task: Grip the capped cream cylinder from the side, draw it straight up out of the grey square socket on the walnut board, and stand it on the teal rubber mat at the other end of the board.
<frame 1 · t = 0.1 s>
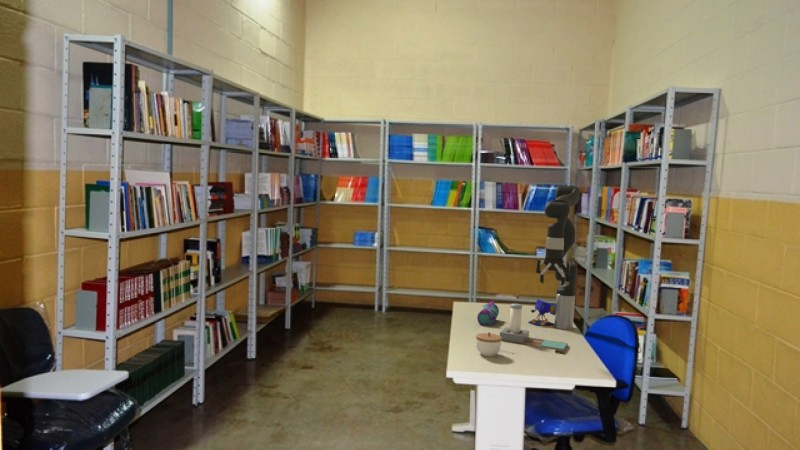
hand: (552, 284, 250), 29 cm above the table, tool pointing down, fingers open, 8 cm apart
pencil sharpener: (545, 325, 299), on the table, touching arm
pencil case: (488, 323, 296), on the table
base board: (531, 344, 260), on the table
capped cream cylinder: (514, 338, 263), point 1 cm above the table, touching base board
lidded jar: (487, 354, 241), on the table
grey square socket: (514, 341, 263), resting on base board
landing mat: (553, 347, 256), resting on base board
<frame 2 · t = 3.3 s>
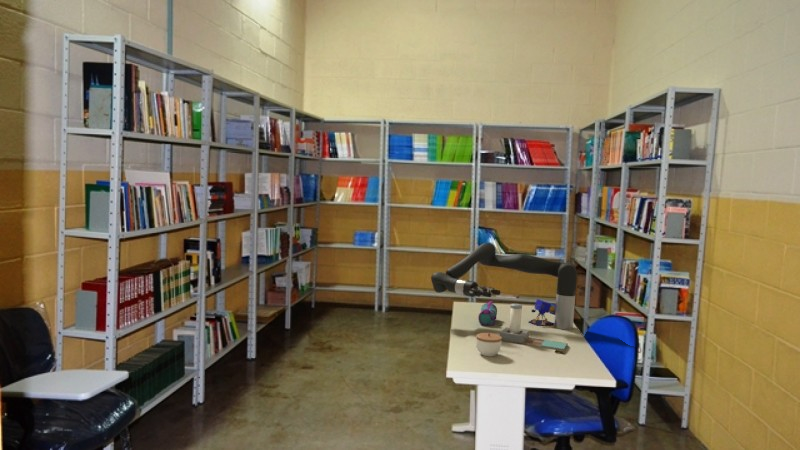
hand: (495, 293, 268), 20 cm above the table, tool horizontal, fingers open, 8 cm apart
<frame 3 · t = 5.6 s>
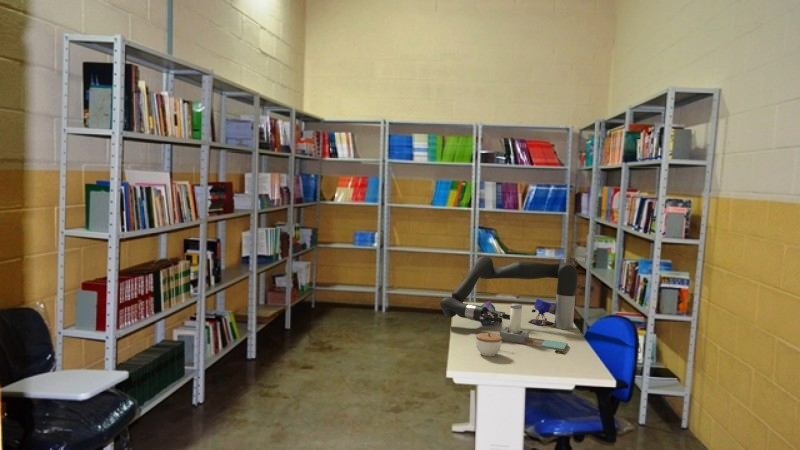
hand: (506, 319, 264), 10 cm above the table, tool horizontal, fingers open, 8 cm apart
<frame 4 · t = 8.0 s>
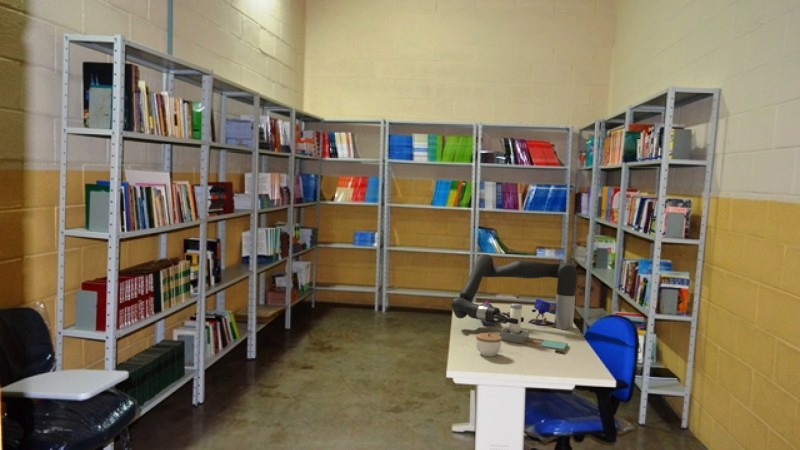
hand: (520, 320, 261), 10 cm above the table, tool horizontal, fingers closed on capped cream cylinder, 5 cm apart
capped cream cylinder: (514, 338, 263), point 1 cm above the table, touching base board, gripper
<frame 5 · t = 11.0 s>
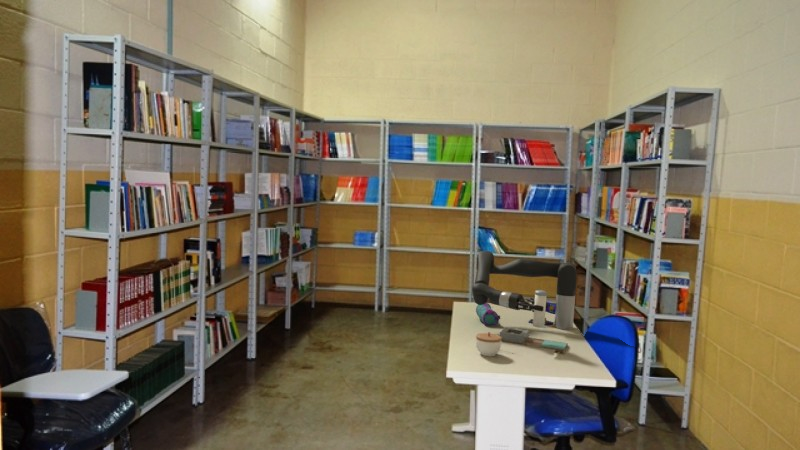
hand: (545, 307, 256), 18 cm above the table, tool horizontal, fingers closed on capped cream cylinder, 5 cm apart
capped cream cylinder: (538, 325, 258), point 9 cm above the table, touching gripper
when the fingers open (12 cm above the table, at t = 14.1 s): capped cream cylinder drops 1 cm, resting on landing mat.
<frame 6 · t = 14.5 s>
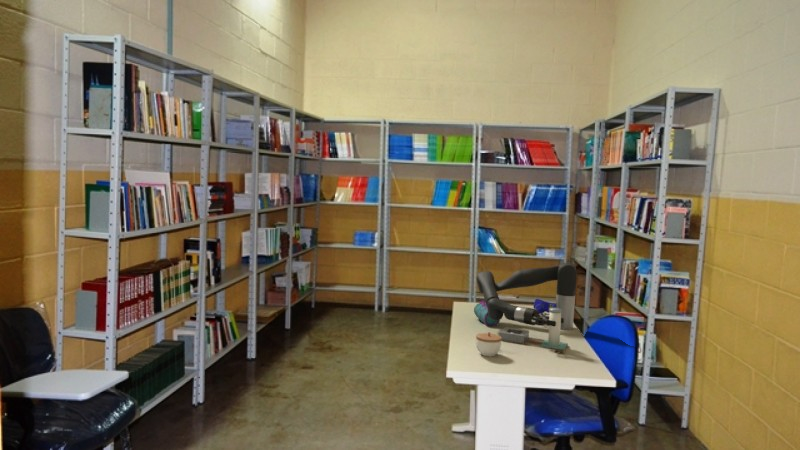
hand: (559, 322, 253), 12 cm above the table, tool horizontal, fingers open, 8 cm apart
capped cream cylinder: (553, 344, 255), point 2 cm above the table, touching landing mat
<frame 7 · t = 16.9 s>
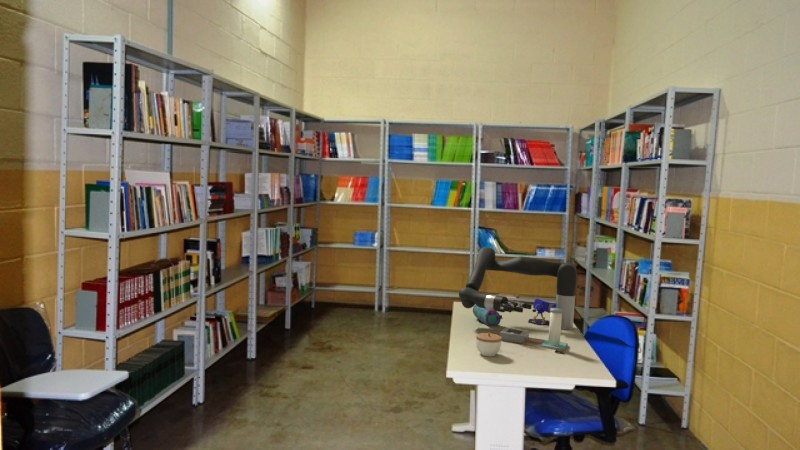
hand: (527, 308, 263), 15 cm above the table, tool horizontal, fingers open, 8 cm apart
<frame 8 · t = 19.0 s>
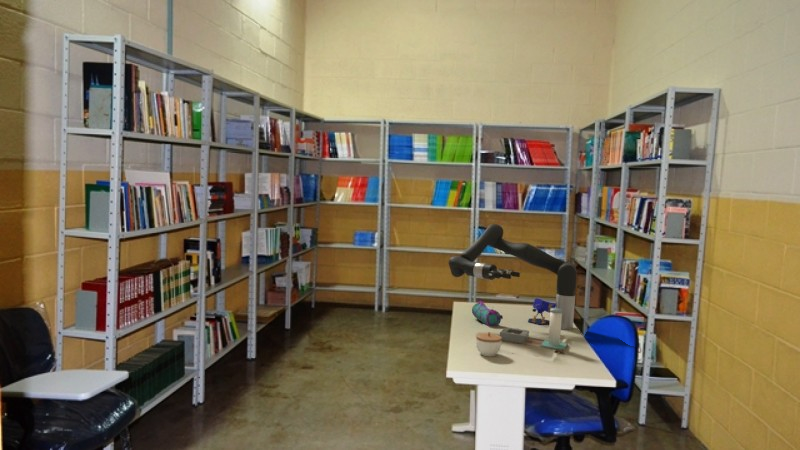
hand: (515, 275, 265), 30 cm above the table, tool horizontal, fingers open, 8 cm apart
at the end: capped cream cylinder inside the target area (0.0 cm from its centre), point 1.6 cm above the table; capped cream cylinder tilted 0°; the gripper is holding nothing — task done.
